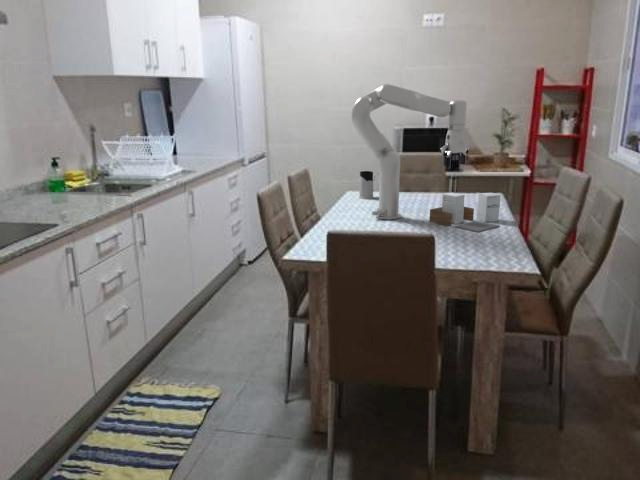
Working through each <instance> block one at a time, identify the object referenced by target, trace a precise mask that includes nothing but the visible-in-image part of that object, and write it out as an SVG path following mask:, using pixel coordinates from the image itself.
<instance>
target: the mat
mask: <svg viewBox="0 0 640 480" xmlns="http://www.w3.org/2000/svg"><path fill="white" fill-rule="evenodd" d="M498 227H500V224H495V223H489V222H483V221H481V220H475V221H474V220H473V221H469V222H466V223H463V224H459V225H455V226H454V228H457V229H461V230H466V231H470V232H474V233H481V232H485V231H488V230H492V229H496V228H498Z"/></svg>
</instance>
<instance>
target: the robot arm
mask: <svg viewBox="0 0 640 480" xmlns="http://www.w3.org/2000/svg"><path fill="white" fill-rule="evenodd" d="M385 105H391V106H394V107H398V108H402V109H405V110H409V111H411V112H413V111H415V112H420V113H424V114H427V115H431V116H435V117H437V118H446V117H448V125H447V127H446V128H447V133H446V136H445V143H444V145H443V146H441V148H440V152H441V154H442V157H443V166H445V167H450V163H451V157H450V156H451V154H460V155H459V165H466V157H467V156H468V153H469V150H470V149H471V146H470V145H469V144H468V136H467V131H466V116H467V102H466V101H465V100H457V99H456V100H444V99H441V98H436V97H432V96H429V95H426V94H423V93H420V92H418V91H416V90H412V89H407V88H404V87H401V86H400V87H399V86H397V85H393V84H389V83H385V84H382V85H380V86H379V87H377V88H376V89H373V90H371V91H370V92H368V93H366V94H364V95H362V96H360V97H359V98H357V99H356V101H355V103H354V105H353V107H352V111H351V121H352V124H353V127H354V128H355V130H356V131H357V132H358V134H359V136H360V137H361V139H362V140H363V142H364V144H365V145H366V146H367V149H368V150H369V151H370V152H371V153H372V154H373V156H374V157H375V158H376V160H377V161H378V162H379V174H380V175H379V178H378V179H379V180H378V183H379V186H378V187H379V188H378V189H379V191H378V196H379V197H378V207H377V210H374V211H372V212H371V215H372V216H375V218H377V219H379V220H391V219H393V220H399V219H401V218H402V214H401V213H400V212H399V206H400V205H399V204H400V203H399V202H400V176H401V175H400V174H401V173H400V172H401V159H400V158H401V157H399V154H398V153H397V152H396V150H395V149H394V147H393V146H392V144H391V143H390V142H389V140H388V139H387V136H385V134H383V133H382V132H381V131H380V130H379V129H378V127H377V126H376V124H375V122H374V121H373V120H372V118H371V113H372V112H374V111H375V110H377V109H380V108H381V107H383V106H385Z"/></svg>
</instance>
